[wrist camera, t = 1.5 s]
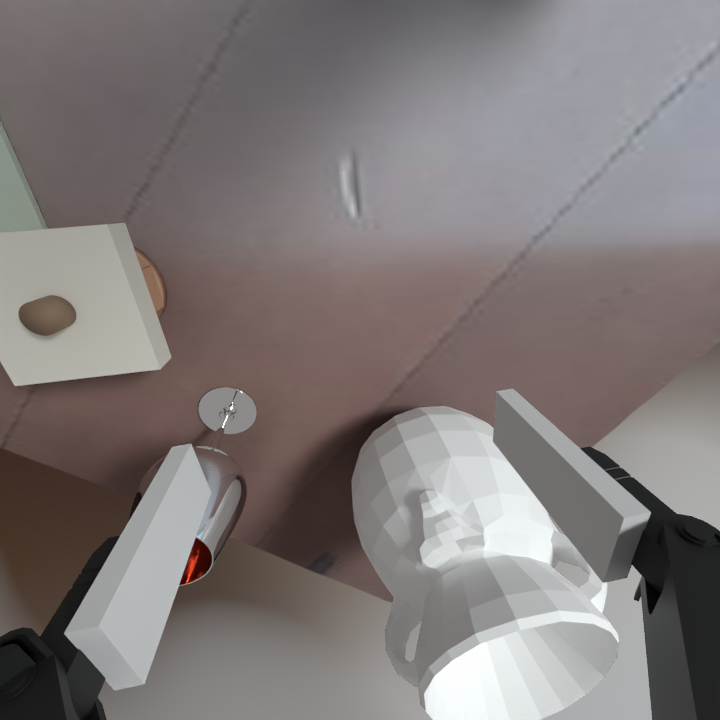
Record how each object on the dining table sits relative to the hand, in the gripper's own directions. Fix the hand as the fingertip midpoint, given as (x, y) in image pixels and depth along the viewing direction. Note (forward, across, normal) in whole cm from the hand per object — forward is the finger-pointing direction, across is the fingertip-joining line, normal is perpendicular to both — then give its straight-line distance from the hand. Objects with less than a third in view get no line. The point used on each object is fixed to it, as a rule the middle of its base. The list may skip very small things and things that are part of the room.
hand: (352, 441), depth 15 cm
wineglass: (+23, -13, -11) cm, 28 cm away
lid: (+17, -20, +5) cm, 26 cm away
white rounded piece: (+23, +8, -20) cm, 31 cm away
